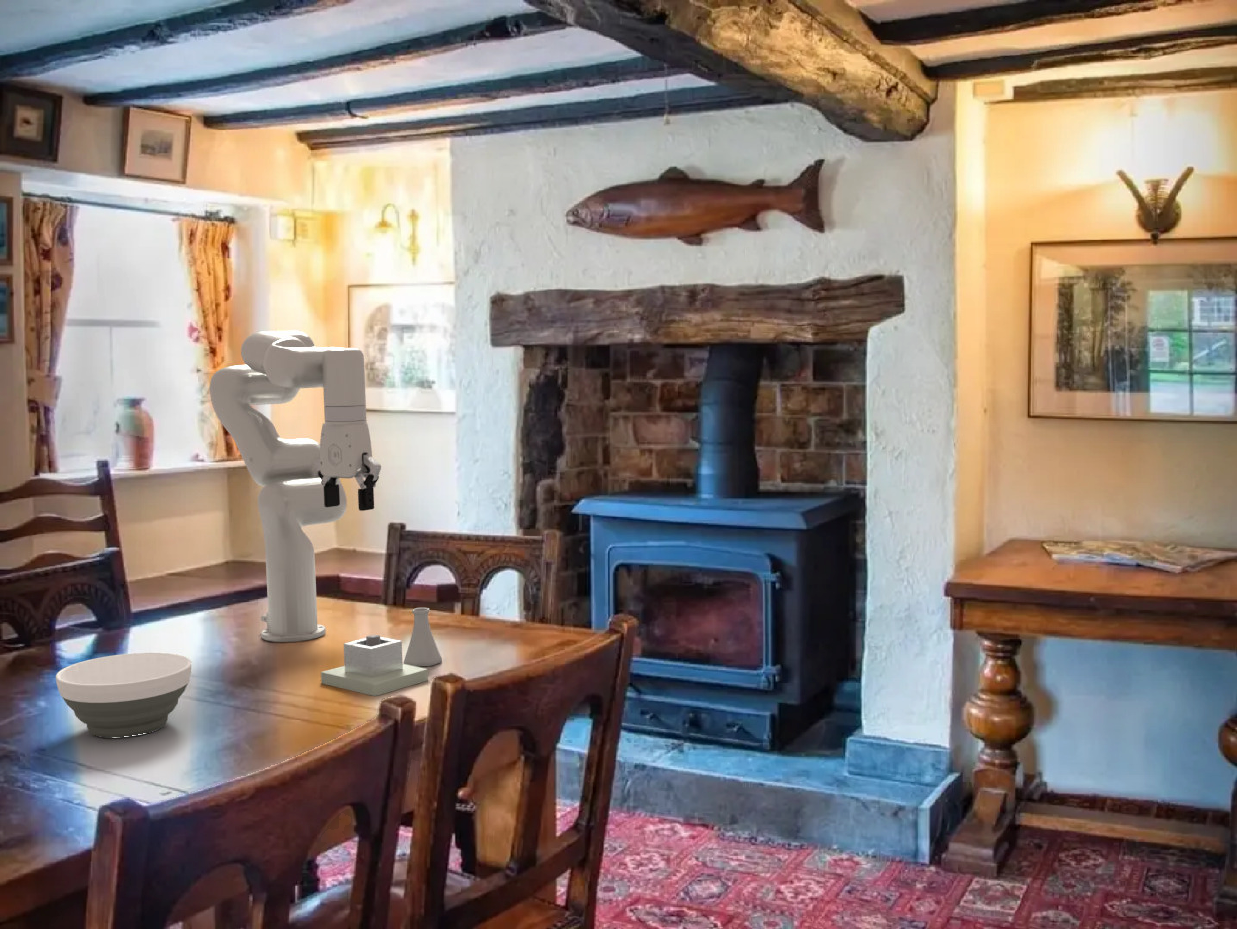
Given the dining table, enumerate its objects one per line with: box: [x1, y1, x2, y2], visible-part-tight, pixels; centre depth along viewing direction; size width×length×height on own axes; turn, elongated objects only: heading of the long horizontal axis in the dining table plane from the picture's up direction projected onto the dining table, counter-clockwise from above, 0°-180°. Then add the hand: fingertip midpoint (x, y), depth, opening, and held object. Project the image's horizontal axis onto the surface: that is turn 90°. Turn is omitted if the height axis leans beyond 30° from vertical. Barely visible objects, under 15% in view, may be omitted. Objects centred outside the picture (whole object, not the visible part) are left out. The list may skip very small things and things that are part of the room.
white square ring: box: [343, 636, 404, 678], centre depth 222 cm, size 7×7×5 cm
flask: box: [403, 607, 443, 667], centre depth 234 cm, size 7×7×10 cm
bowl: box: [55, 652, 192, 738], centre depth 198 cm, size 20×20×10 cm
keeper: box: [320, 634, 429, 697], centre depth 222 cm, size 14×12×8 cm
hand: (349, 508), depth 236 cm, fingers open, 9 cm apart
